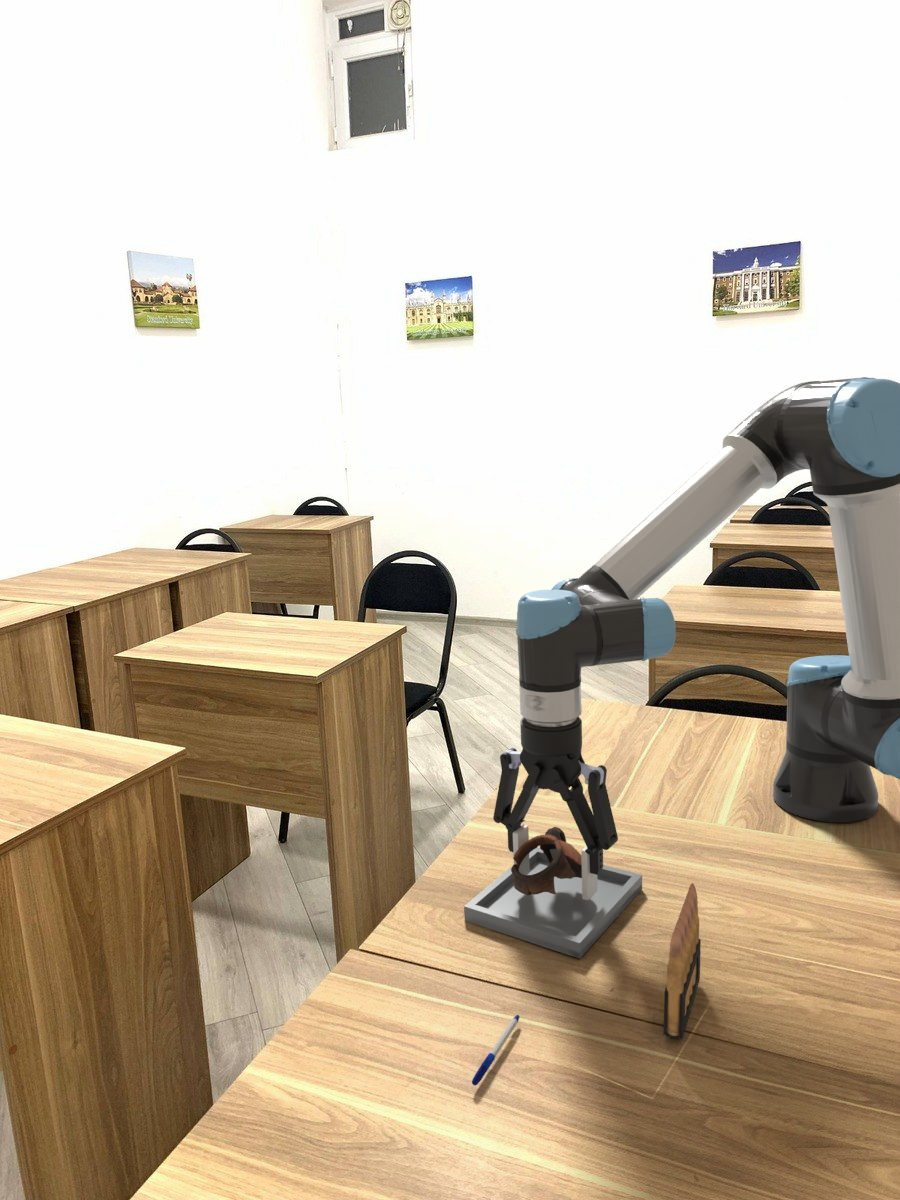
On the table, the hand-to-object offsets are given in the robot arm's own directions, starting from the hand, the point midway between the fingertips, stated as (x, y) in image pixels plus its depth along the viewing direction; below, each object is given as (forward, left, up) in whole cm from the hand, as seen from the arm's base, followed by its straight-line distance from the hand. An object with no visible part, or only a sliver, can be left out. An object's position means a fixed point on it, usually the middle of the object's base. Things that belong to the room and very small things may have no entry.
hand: (555, 884), depth 117 cm
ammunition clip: (-21, +11, -3) cm, 24 cm away
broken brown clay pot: (0, 0, -1) cm, 1 cm away
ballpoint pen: (-8, +27, -3) cm, 28 cm away
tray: (0, 0, -3) cm, 3 cm away
